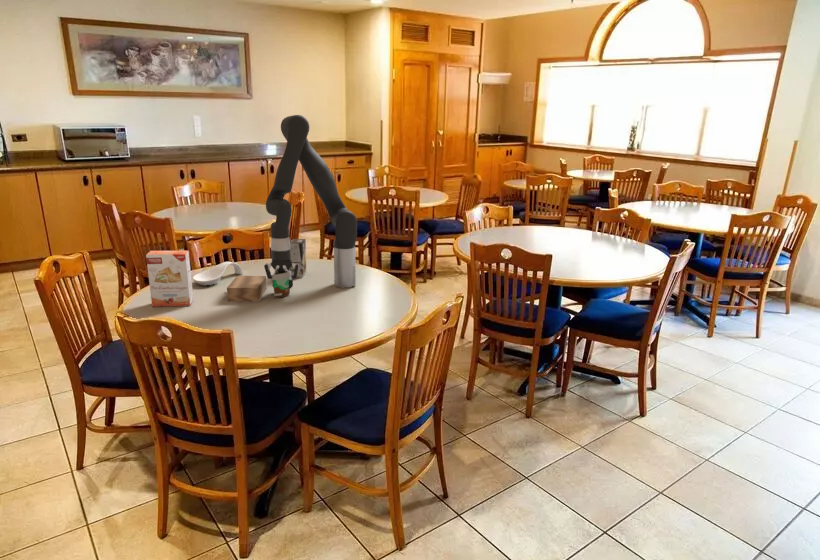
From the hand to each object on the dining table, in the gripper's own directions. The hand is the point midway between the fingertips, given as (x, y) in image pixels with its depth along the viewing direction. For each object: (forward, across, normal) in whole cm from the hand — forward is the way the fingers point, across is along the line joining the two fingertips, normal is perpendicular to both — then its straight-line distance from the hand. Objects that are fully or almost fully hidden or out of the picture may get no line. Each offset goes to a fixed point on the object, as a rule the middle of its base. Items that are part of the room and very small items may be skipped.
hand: (282, 287), depth 220 cm
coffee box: (+3, -3, -28) cm, 28 cm away
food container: (+3, -1, 0) cm, 3 cm away
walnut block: (+3, +14, 0) cm, 15 cm away
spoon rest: (+3, +31, -20) cm, 37 cm away
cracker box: (+3, +40, +11) cm, 42 cm away
